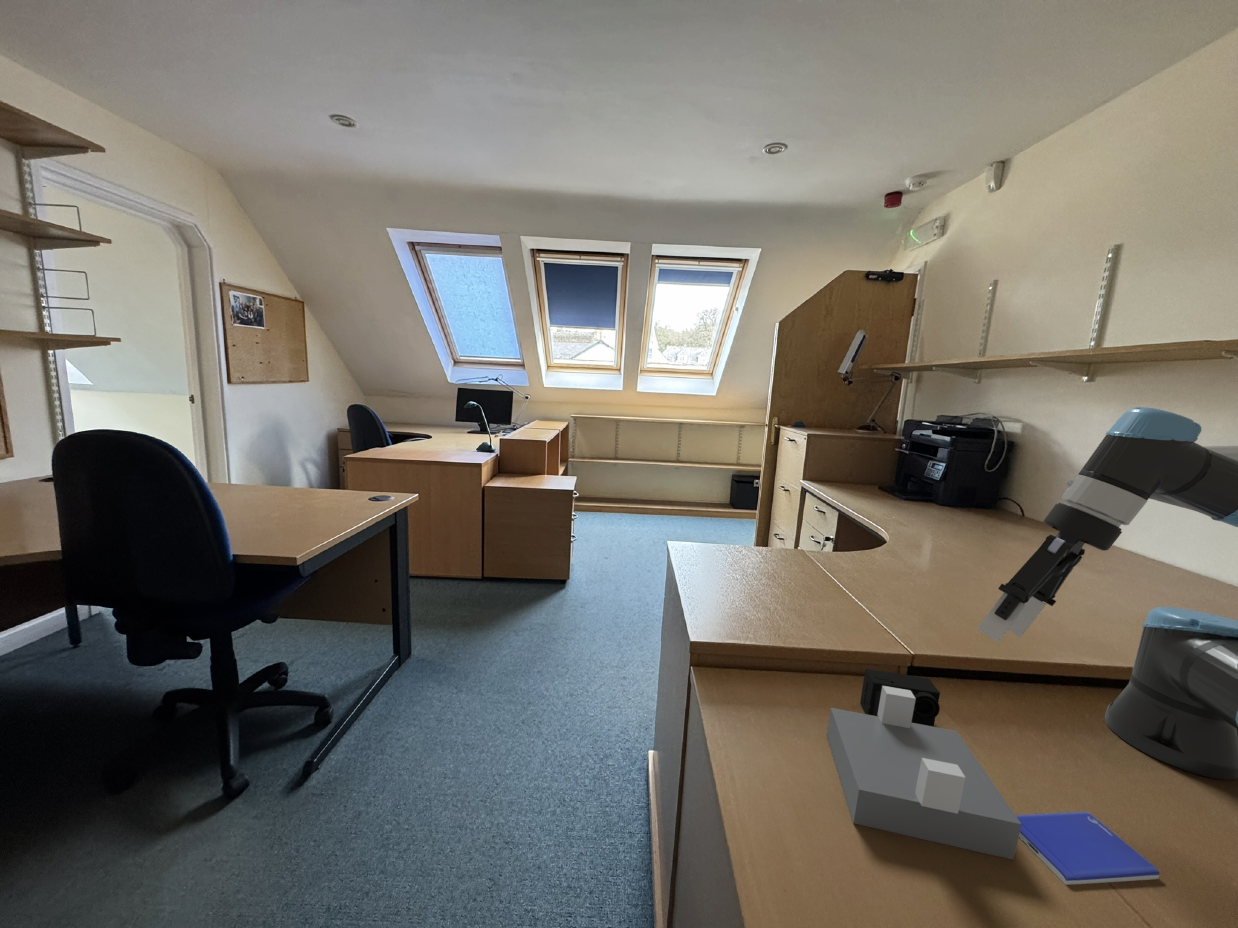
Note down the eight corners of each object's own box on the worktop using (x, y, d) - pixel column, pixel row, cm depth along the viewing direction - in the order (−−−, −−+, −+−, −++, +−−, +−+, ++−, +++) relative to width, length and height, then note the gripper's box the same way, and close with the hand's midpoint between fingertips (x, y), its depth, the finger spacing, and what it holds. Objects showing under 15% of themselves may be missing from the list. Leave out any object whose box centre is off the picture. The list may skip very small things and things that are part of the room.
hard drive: (1086, 809, 64) (1003, 813, 62) (1160, 870, 56) (1067, 877, 54) (1083, 819, 64) (1001, 824, 63) (1157, 882, 56) (1065, 888, 55)
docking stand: (949, 757, 73) (961, 699, 72) (1015, 863, 57) (1032, 790, 55) (825, 733, 77) (834, 677, 75) (854, 826, 60) (866, 757, 59)
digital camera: (869, 724, 80) (875, 686, 79) (859, 703, 85) (864, 667, 84) (936, 735, 78) (944, 697, 77) (922, 713, 83) (928, 677, 82)
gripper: (1072, 510, 77) (994, 614, 83) (1041, 488, 62) (947, 618, 67) (1132, 535, 72) (1045, 645, 77) (1115, 518, 56) (1006, 658, 61)
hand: (999, 633), depth 72 cm, fingers open, 13 cm apart
